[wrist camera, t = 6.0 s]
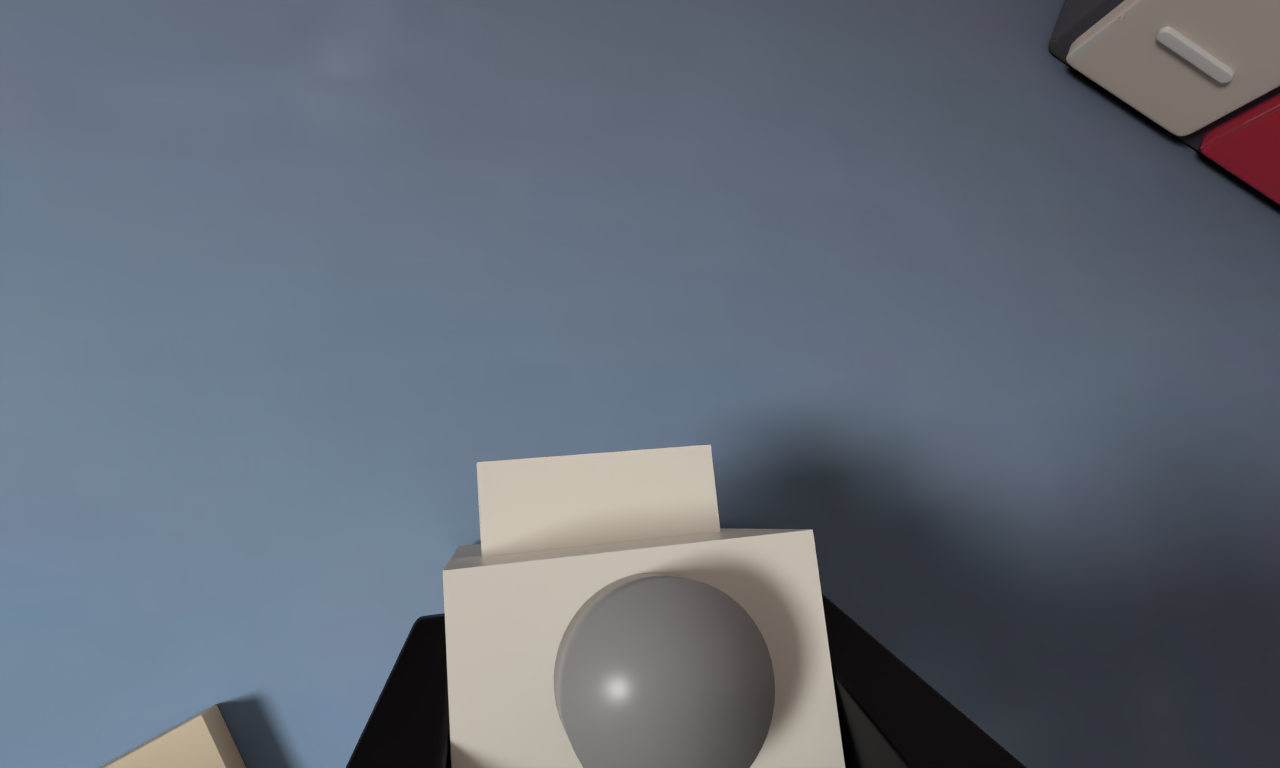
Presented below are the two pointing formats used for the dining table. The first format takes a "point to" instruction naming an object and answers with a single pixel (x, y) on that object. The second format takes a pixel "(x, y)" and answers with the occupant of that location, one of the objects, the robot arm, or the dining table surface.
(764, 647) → the block
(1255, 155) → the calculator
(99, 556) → the dining table surface
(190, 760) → the plate
